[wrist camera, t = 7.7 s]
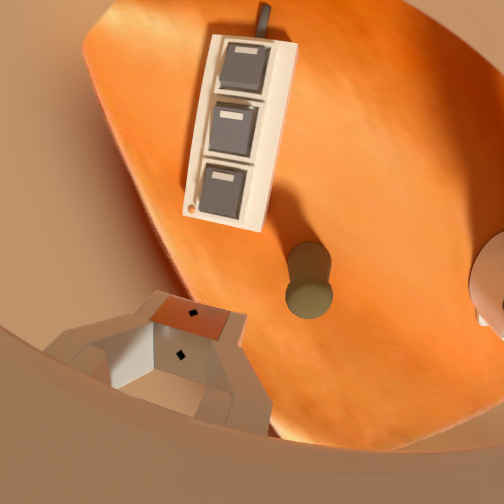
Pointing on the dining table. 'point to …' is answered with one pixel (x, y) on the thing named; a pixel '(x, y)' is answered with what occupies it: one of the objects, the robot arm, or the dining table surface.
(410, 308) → the dining table surface
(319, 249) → the cork
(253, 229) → the switch strip
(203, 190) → the rocker
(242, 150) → the rocker
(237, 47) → the rocker
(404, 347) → the dining table surface
